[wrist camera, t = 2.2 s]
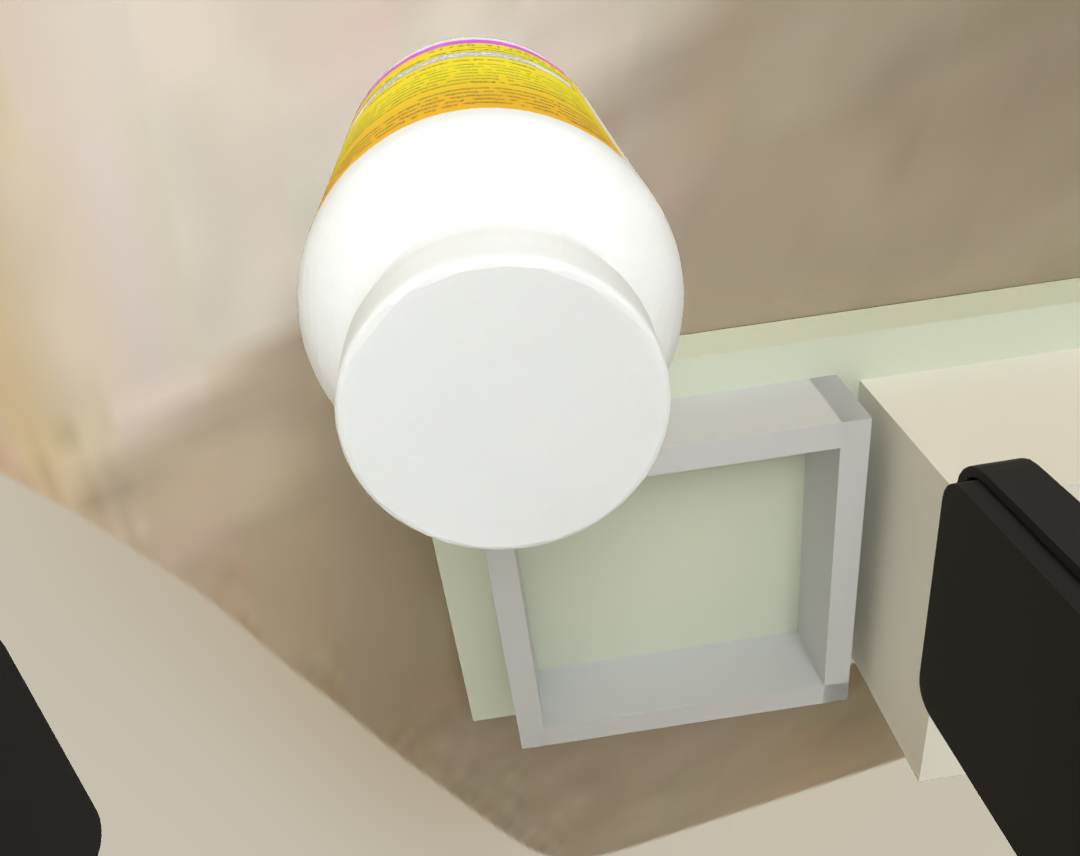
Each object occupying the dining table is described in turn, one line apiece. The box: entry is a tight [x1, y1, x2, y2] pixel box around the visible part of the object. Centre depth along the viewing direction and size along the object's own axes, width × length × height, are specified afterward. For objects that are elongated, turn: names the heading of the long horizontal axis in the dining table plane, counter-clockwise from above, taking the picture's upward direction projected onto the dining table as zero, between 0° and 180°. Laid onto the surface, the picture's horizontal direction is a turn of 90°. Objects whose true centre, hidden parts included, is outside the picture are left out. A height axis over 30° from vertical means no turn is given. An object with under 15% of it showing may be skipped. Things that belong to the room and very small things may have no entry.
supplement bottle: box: [297, 37, 684, 550], centre depth 18 cm, size 7×7×13 cm
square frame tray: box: [432, 278, 1080, 782], centre depth 26 cm, size 22×13×8 cm, turn 97°
